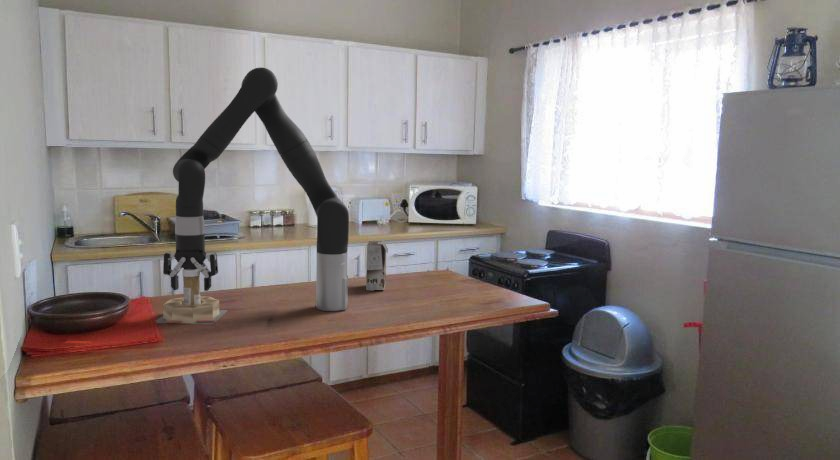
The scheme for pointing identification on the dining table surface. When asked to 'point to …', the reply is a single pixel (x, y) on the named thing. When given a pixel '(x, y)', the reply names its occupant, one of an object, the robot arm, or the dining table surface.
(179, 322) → the reddish pink rod
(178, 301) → the octagonal faceted ring
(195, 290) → the sprinkles bottle
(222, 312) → the mat
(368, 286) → the coffee box
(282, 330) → the dining table surface
